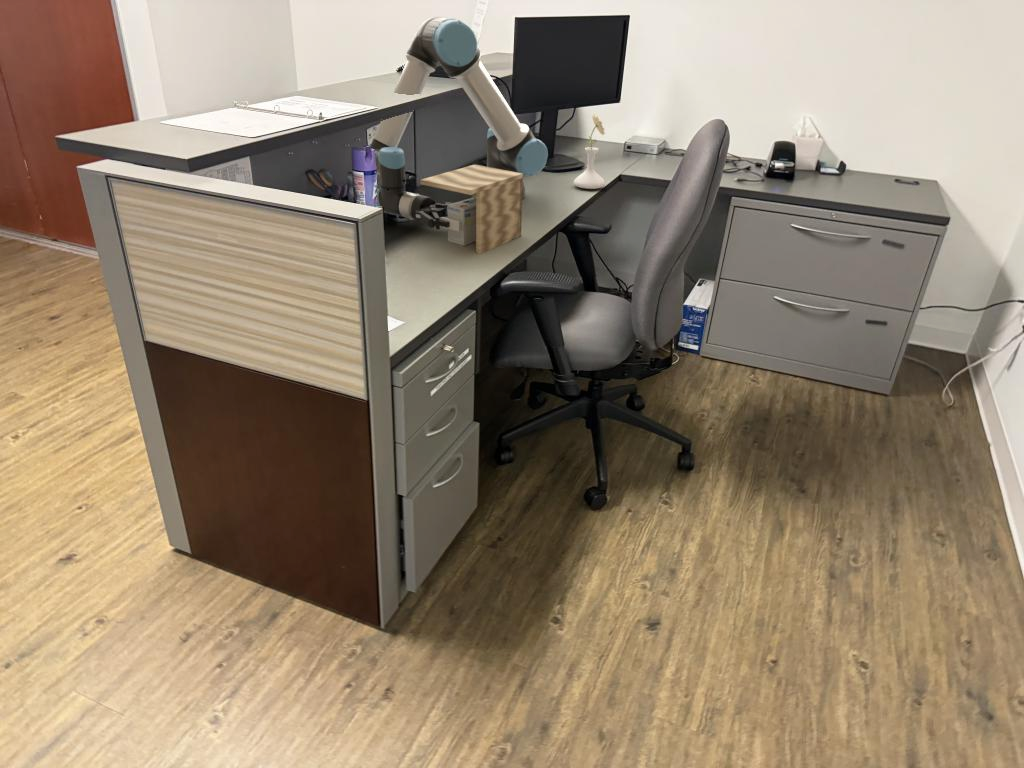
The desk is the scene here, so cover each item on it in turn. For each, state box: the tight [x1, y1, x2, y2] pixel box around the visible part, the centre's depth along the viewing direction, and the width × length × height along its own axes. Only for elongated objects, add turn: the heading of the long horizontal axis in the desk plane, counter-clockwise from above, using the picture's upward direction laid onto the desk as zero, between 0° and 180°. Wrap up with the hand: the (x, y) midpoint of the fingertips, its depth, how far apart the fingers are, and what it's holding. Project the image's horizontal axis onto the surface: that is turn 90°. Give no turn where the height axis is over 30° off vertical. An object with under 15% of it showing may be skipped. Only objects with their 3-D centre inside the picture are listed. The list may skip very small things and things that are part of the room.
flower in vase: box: [573, 113, 606, 190], centre depth 268 cm, size 13×11×25 cm
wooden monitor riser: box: [419, 164, 524, 254], centre depth 212 cm, size 24×17×18 cm
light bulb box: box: [446, 197, 476, 247], centre depth 215 cm, size 11×7×11 cm, turn 141°
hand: (474, 220), depth 213 cm, fingers open, 13 cm apart
